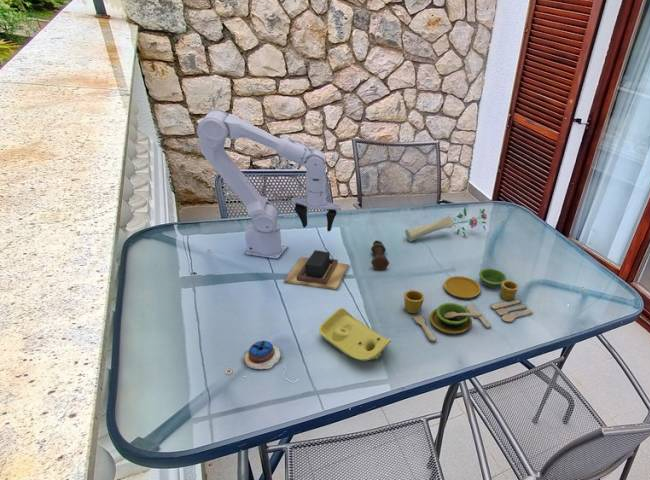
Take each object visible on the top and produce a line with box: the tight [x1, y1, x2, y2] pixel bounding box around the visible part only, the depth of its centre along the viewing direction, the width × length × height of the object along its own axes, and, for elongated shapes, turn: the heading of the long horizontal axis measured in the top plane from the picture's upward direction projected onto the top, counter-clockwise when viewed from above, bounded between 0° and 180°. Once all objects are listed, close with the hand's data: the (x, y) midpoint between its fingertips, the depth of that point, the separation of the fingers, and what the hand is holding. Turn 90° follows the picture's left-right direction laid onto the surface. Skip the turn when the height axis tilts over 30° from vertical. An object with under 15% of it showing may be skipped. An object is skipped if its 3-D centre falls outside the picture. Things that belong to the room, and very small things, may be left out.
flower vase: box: [404, 207, 488, 243], centre depth 173 cm, size 12×12×35 cm
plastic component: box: [318, 307, 392, 361], centre depth 110 cm, size 20×7×10 cm
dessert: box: [244, 340, 281, 370], centre depth 101 cm, size 8×7×6 cm
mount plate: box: [284, 255, 349, 290], centre depth 133 cm, size 15×14×2 cm
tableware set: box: [403, 268, 533, 343], centre depth 137 cm, size 41×28×6 cm
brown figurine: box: [370, 240, 390, 271], centre depth 148 cm, size 6×5×15 cm
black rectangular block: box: [305, 249, 331, 278], centre depth 132 cm, size 4×9×5 cm, turn 4°
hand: (317, 228), depth 139 cm, fingers open, 7 cm apart
